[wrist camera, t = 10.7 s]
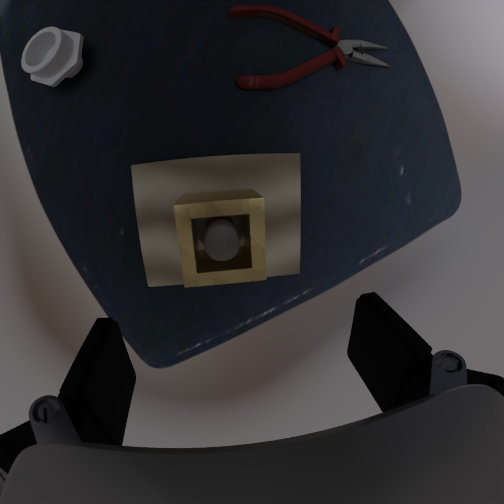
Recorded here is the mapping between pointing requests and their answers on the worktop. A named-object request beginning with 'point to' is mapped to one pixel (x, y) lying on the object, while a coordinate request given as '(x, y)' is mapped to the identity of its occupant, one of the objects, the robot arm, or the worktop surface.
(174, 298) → the worktop surface
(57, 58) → the pipe fitting
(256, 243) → the hollow wooden cube
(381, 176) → the worktop surface
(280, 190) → the post stand
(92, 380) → the robot arm
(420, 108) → the worktop surface
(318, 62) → the pliers
